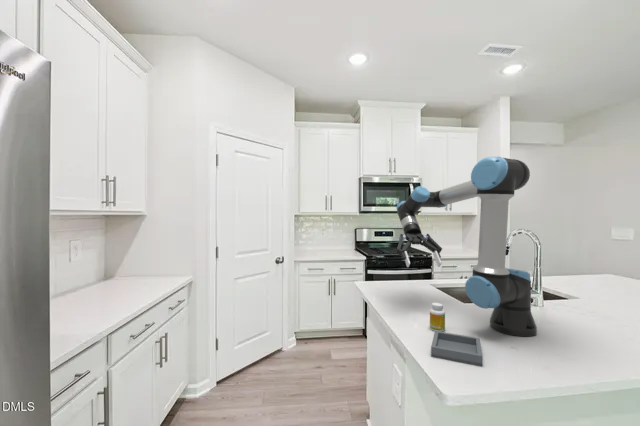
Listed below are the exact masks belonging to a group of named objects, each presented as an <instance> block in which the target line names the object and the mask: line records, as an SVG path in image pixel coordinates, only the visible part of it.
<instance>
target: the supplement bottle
mask: <svg viewBox="0 0 640 426" xmlns="http://www.w3.org/2000/svg"><path fill="white" fill-rule="evenodd" d="M429 329H430V330H431V331H433V332H435V331H439V332H445V330H446V312H445V309H444V305H443V303H441V302H432V303H431V309H429Z"/></svg>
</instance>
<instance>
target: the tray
mask: <svg viewBox="0 0 640 426" xmlns="http://www.w3.org/2000/svg"><path fill="white" fill-rule="evenodd" d="M430 357H433V358H436V359H441V360H447V361H451V362H453V361H454V362H458V363H463V364H467V365H473V366H477V367H478V366H479V367H483V352H482V344H481V338H480V337H475V336H472V335H471V336H470V335H465V334H457V333H450V332H445V331H443V332H439V331H434V334H433V338H432V343H431V345H430Z"/></svg>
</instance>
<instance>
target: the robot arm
mask: <svg viewBox="0 0 640 426" xmlns="http://www.w3.org/2000/svg"><path fill="white" fill-rule="evenodd" d="M530 176H531V173H530V169H529V167H528V165H527V164H526V163H525V162H523V161H522V160H519V159H515V158H506V157H502V156H487V157H484V158H482V159H480V160H479V161H478V162H477V163H476V164H475V165H474V166H473V168H472V169H471V173H470V180H468V181H465V182H462V183H459V184H456V185H452V186H450V187H447V188H443V189H440V190H436V191H430V190H429V189H428V188H426V187H424V186H421V185H420V186H416V187H415V188H414V189H413V191H411V193H410V195H409V196H408V197H407V198H406V200H402V201H400V202H399V203H397V205H396V212H397V215H398V219H399V221H400V225H401V227H402V230H403V234H402V233H400V235H399V236H398V239H399V241H398V245H397V247H396V251H395V253H396V254H399V255H400V256H401V258H402V260H403V261H404V262H405V265H406V268H409V267H410V265H411V261H410V257H409V256H408V255H409V254H408V252H407V251H408V250H407V249H408V248H409V247H410V245H420V246H422V247H424V248H425V249H427V250H429V251H430V252H432V253H433V254H432V255H433V257H434V261H435V263H436V266H437V267H438V268H439V267H441V265H442V264H443V263H442V260H441V258H442V256H441V254H440V253H441V252H442V251H443V248H442V247H441V245H439V244H438V242H436V241H435V240H434V238H432V237H431V235H430V233H426V235H425V234H423V233H422V230H421V227H420V225H419V221H418V219H417V217H416V214H417V213H418V212H419V210H420V209H421V208H437V209H438V208H440V209H441V208H445V207H447V206H448V205H450V204H455V203H458V202H462V201H466V200H471V199H473V198H479V199H480V212H479V213H480V215H479V217H480V218H479V235H478V237H479V238H478V253H477V264H476V265H474V266H473V267H472V275H471V276H470V277H468V278H467V280H466V282H465V287H464V288H465V293H466V295H467V297H468V298H469V300H470V302H472V303H473V304H474V305H475V306H477V307H478V308H481V309H486V310H487V309H493V311H492V313H491V315H490V318H489V326H490V327H491V328H492V329H493V330H495V331H497V332H498V333H502V334H506V335H510V336H515V337H535V336H536V335H537V333H538V332H537V331H538V330H537V329H538V327H537V324H536V321H535V319H534V316H533V314H532V309H531V308H532V307H531V305H532V303H531V302H532V294H531V293H532V292H531V291H532V288H531V287H532V284H531V283H532V280H531V274H530V273H529V272H528V271H527V270H526V271H525V270H520V269H514V268H506V253H507V238H508V237H507V236H508V219H509V218H508V217H509V204H510V202H509V201H510V200H511V199H512V198H514V197H515V191H517V190H520V189H521V188H523V187H524V186H526V185H527V183H528V182H529V180H530ZM404 240H406V241H407V242H406V243H404V246H402V245H403V241H404ZM401 247H402V248H401Z"/></svg>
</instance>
